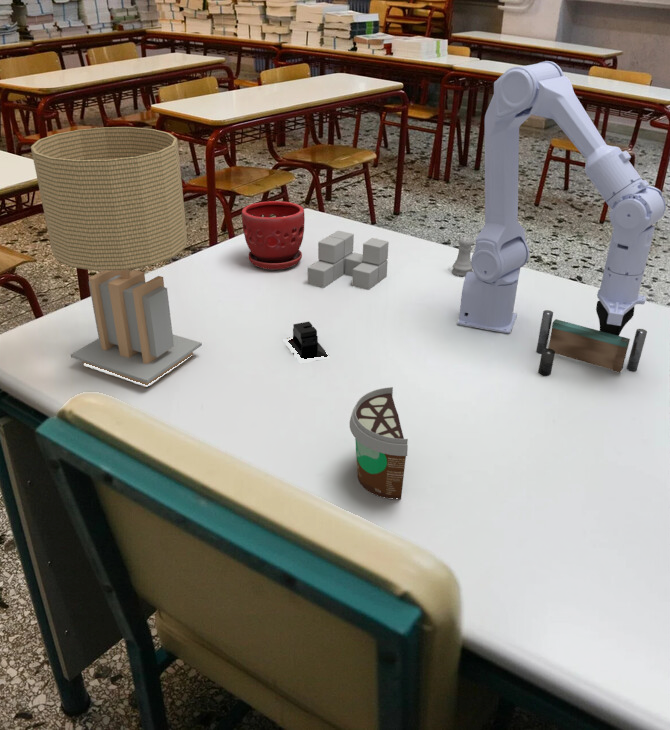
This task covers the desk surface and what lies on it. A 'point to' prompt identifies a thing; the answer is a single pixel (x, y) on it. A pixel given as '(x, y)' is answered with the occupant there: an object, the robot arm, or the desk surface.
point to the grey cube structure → (349, 261)
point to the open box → (588, 345)
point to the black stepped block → (306, 341)
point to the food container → (379, 444)
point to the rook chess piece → (463, 257)
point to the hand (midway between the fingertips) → (606, 345)
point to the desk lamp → (118, 238)
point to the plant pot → (273, 233)
